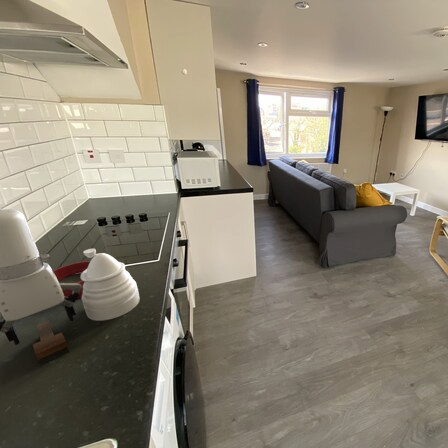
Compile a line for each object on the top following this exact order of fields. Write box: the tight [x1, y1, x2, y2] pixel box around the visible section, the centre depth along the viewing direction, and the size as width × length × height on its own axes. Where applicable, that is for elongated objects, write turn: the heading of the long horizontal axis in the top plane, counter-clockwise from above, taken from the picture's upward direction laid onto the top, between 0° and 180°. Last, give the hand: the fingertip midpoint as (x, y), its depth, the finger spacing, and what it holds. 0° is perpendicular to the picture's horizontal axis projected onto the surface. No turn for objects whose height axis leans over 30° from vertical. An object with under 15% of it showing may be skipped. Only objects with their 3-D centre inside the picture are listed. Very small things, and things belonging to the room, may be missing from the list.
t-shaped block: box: [32, 321, 70, 366], centre depth 61 cm, size 11×5×3 cm, turn 49°
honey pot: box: [79, 248, 141, 321], centre depth 72 cm, size 13×13×18 cm
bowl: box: [53, 260, 91, 301], centre depth 82 cm, size 15×15×6 cm
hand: (45, 329), depth 62 cm, fingers open, 9 cm apart
